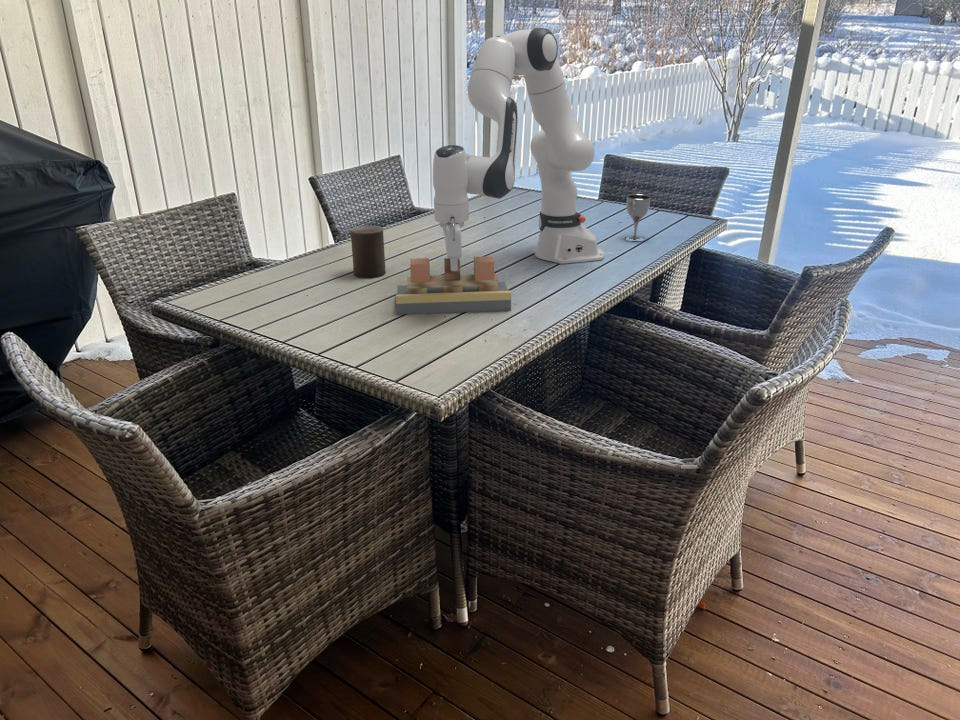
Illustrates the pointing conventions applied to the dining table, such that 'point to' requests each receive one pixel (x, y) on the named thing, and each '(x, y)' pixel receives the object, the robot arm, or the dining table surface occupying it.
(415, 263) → the block
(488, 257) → the block
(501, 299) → the dock
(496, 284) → the pallet
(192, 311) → the dining table surface
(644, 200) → the wine glass
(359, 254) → the pillar candle
